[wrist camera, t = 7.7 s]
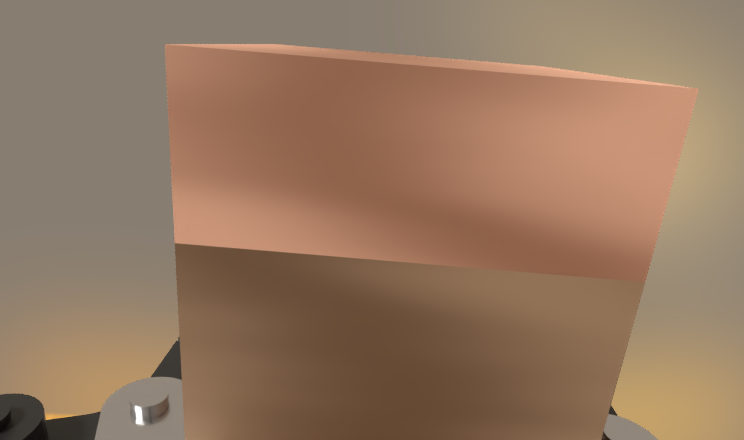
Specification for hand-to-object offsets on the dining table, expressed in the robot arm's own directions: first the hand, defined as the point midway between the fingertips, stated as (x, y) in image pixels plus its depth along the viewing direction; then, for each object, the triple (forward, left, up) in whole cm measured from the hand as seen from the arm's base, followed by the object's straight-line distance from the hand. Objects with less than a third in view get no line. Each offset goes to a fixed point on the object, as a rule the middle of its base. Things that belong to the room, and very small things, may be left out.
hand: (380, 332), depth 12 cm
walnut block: (0, +3, -6) cm, 7 cm away
